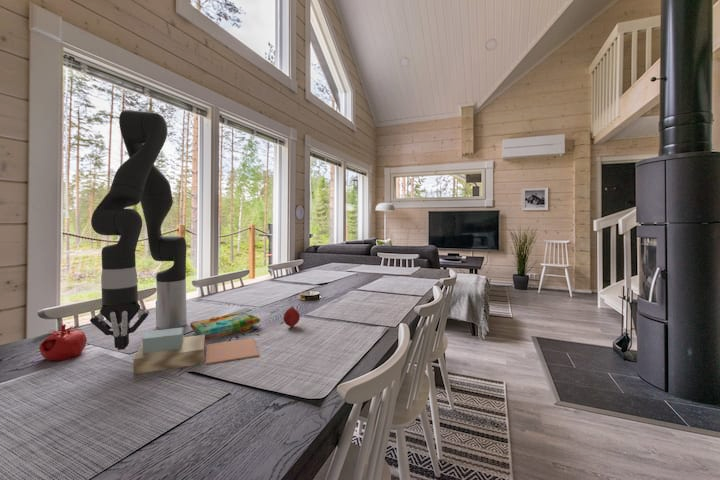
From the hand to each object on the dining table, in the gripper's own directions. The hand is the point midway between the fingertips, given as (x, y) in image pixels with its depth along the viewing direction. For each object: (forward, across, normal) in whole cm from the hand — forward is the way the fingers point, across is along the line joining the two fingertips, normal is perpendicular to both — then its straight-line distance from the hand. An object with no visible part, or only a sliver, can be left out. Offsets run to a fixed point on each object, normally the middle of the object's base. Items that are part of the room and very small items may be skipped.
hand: (122, 348), depth 84 cm
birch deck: (+5, +12, 0) cm, 13 cm away
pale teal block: (-1, +10, 0) cm, 10 cm away
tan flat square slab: (+5, +27, 0) cm, 28 cm away
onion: (+5, +48, +14) cm, 51 cm away
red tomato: (+5, -17, +14) cm, 23 cm away
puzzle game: (+6, +26, +19) cm, 33 cm away
